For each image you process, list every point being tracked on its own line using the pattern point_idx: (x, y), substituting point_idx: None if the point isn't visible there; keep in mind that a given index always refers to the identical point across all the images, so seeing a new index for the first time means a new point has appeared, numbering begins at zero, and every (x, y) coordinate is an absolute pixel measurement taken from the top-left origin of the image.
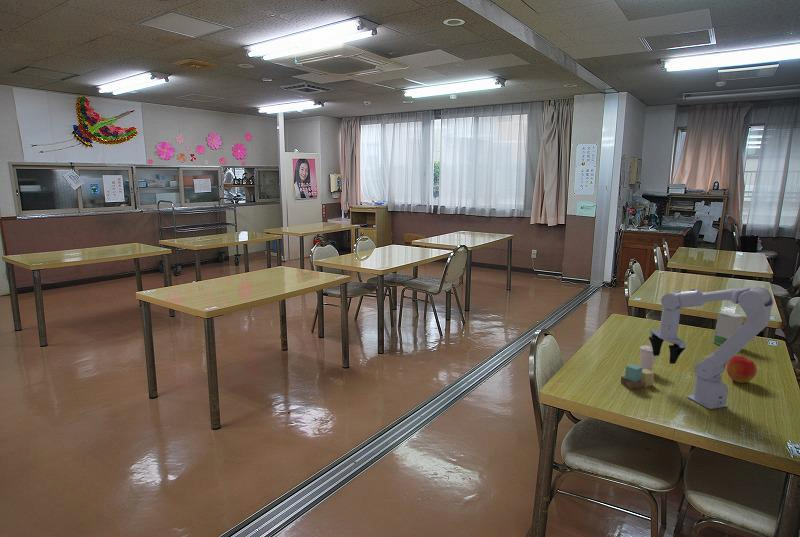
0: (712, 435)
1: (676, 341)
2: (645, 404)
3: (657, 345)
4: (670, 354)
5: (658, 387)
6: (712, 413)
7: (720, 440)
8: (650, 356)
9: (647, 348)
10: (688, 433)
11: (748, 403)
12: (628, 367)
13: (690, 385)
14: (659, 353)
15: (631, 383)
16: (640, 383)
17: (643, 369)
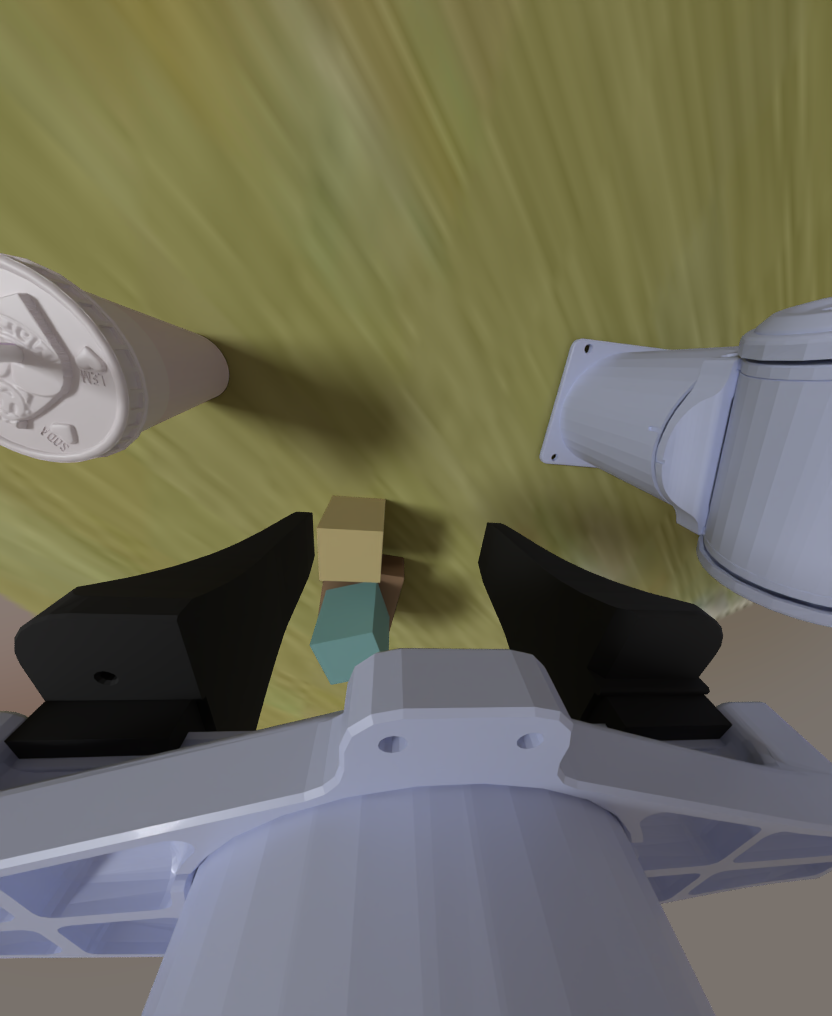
0: (709, 608)
1: (703, 883)
2: (495, 637)
3: (270, 613)
4: (512, 640)
5: (413, 493)
6: None
7: (732, 610)
8: (162, 403)
9: (42, 405)
10: None
11: (793, 150)
12: (344, 677)
13: (461, 282)
14: (306, 519)
15: (389, 628)
16: (398, 595)
17: (322, 550)
